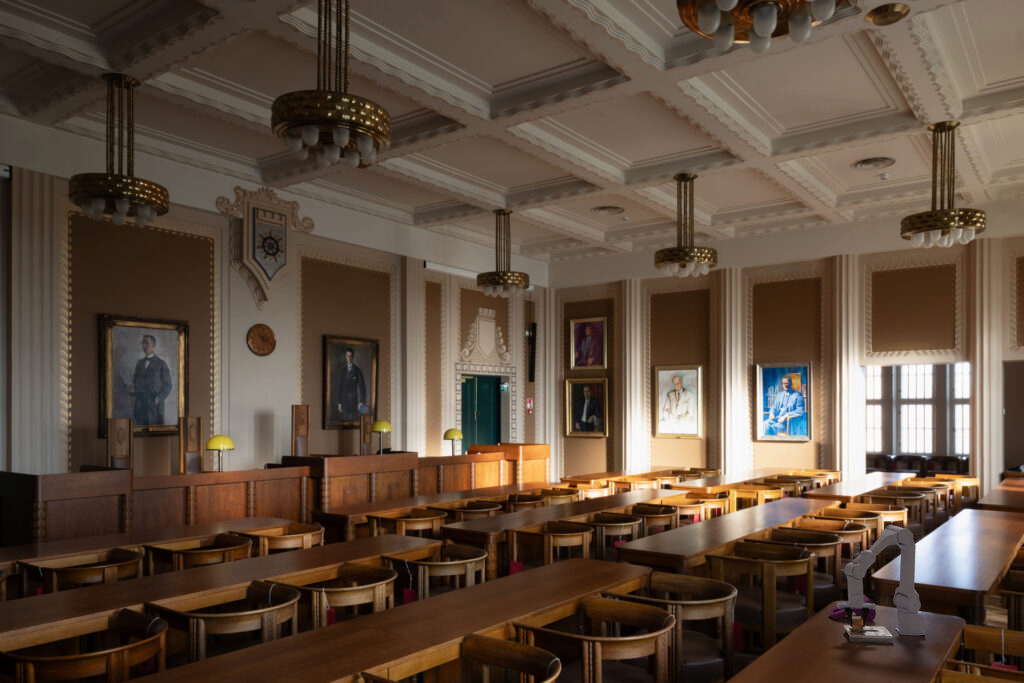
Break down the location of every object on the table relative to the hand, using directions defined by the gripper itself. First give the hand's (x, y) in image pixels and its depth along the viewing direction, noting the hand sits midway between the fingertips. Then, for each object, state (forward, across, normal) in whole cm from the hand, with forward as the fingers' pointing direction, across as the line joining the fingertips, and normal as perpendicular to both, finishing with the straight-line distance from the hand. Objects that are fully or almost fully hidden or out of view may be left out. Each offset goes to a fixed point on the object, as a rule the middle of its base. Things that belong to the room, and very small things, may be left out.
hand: (857, 626), depth 322 cm
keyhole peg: (+4, 0, 0) cm, 4 cm away
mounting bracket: (+5, -4, -28) cm, 29 cm away
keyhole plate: (+5, -4, 0) cm, 6 cm away
